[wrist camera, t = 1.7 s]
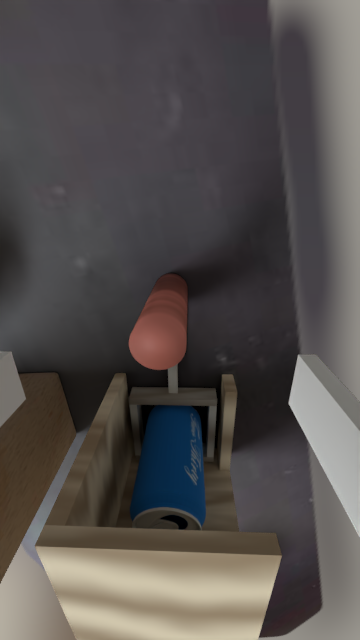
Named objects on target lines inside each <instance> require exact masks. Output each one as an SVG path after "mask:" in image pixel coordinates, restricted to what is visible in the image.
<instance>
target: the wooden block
mask: <svg viewBox="0 0 360 640" xmlns="http://www.w3.org/2000/svg"><path fill="white" fill-rule="evenodd" d="M18 375H19V378H20V381H21V384H22V388H23V391H24V394H25V397H26V400H25V401H24V402H23V403H22V404H21V405H20V406H19V407H18V408H17V409H16V411H15V412H14V413H13V414H12V415H11V416H10V417H9V418H8V419H7V420H6V422H5V423H4V424H3V425H2V426H1V427H0V583H1V581H2V579H3V577H4V575H5V573H6V571H7V569H8V567H9V565H10V563H11V561H12V559H13V557H14V555H15V553H16V552H17V550H18V548H19V546H20V544H21V542H22V540H23V538H24V536H25V534H26V532H27V530H28V528H29V526H30V524H31V522H32V520H33V518H34V516H35V515H36V513H37V511H38V509H39V507H40V505H41V503H42V501H43V499H44V497H45V495H46V493H47V491H48V489H49V487H50V485H51V483H52V481H53V479H54V478H55V476H56V474H57V472H58V470H59V468H60V466H61V464H62V462H63V460H64V458H65V456H66V454H67V452H68V450H69V448H70V446H71V444H72V442H73V440H74V439H75V437H76V430H75V426H74V423H73V420H72V417H71V414H70V410H69V407H68V404H67V401H66V397H65V394H64V391H63V388H62V384H61V381H60V378H59V375H58V374H57V373H55V372H53V373H20V374H18Z"/></svg>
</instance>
